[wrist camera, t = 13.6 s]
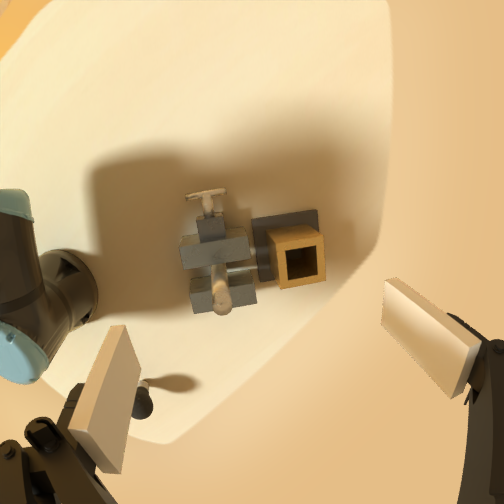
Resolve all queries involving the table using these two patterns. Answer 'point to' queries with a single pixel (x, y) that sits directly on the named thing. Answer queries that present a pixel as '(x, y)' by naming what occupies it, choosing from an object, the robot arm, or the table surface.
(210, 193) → the vise
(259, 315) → the table surface
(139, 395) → the light bulb
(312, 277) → the open wooden box
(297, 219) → the mat
